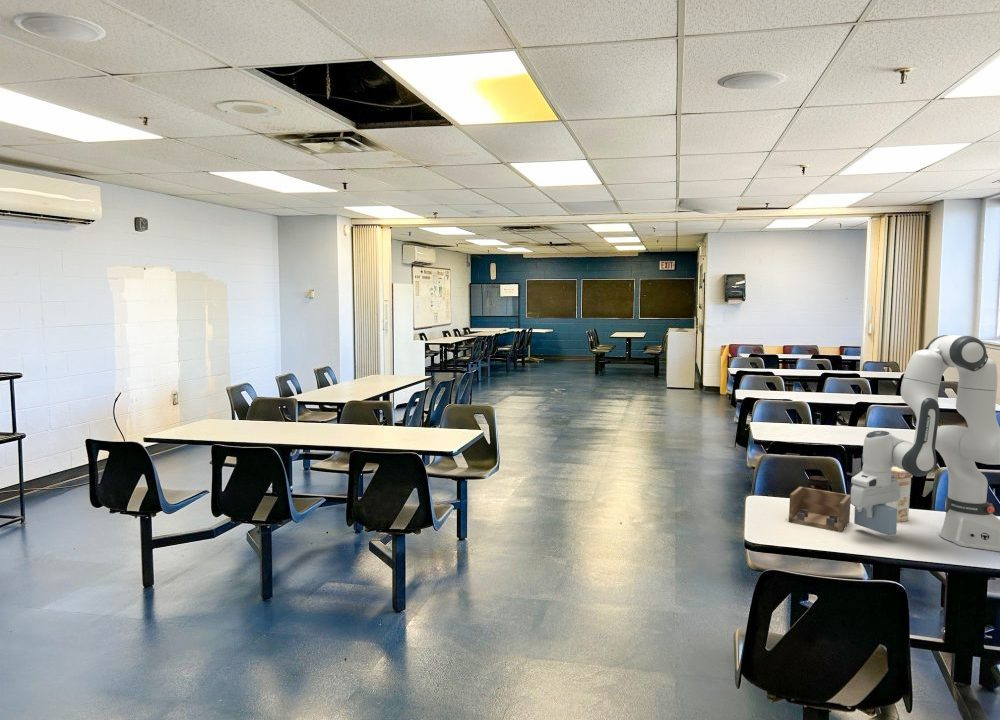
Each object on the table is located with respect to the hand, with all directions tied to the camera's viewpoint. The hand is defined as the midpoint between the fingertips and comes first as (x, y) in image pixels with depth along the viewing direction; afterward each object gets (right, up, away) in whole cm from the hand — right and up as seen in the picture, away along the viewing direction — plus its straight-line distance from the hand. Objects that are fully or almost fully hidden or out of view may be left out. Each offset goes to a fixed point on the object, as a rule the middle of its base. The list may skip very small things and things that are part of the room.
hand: (875, 516), depth 239 cm
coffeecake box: (+17, -6, +24) cm, 29 cm away
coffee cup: (-6, -5, +30) cm, 31 cm away
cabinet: (-13, -6, +15) cm, 20 cm away
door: (0, -5, 0) cm, 5 cm away
